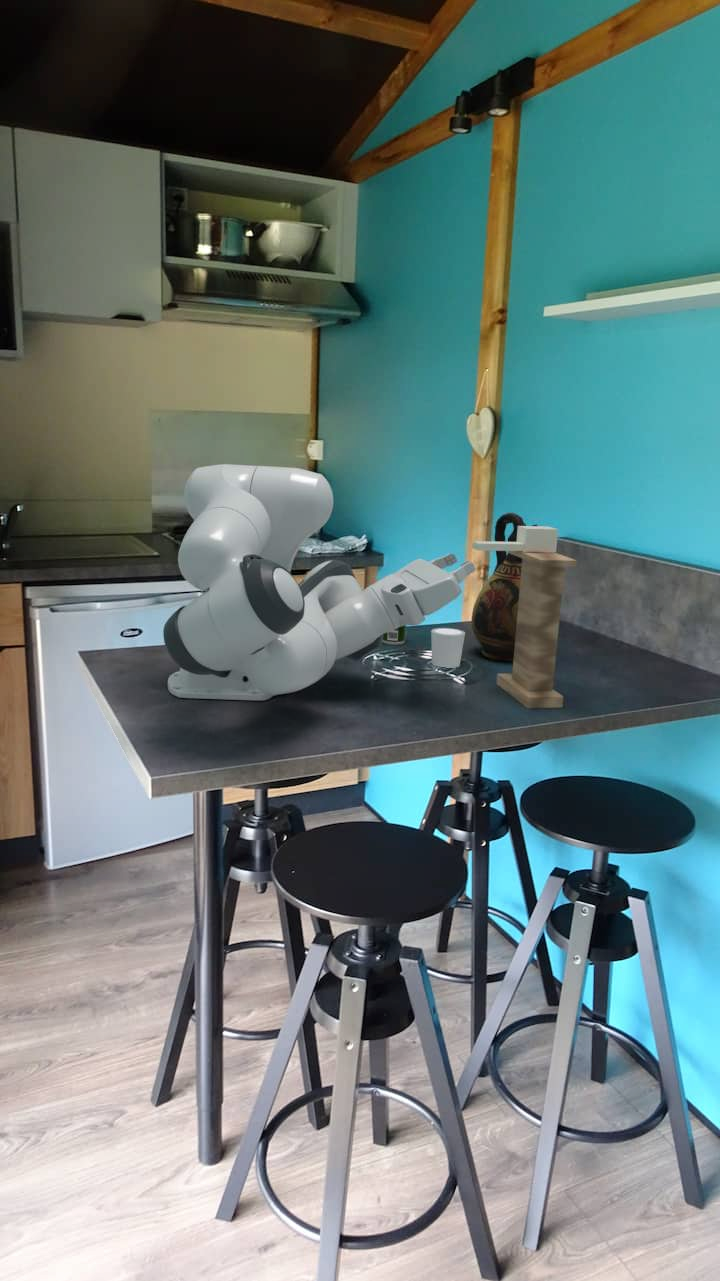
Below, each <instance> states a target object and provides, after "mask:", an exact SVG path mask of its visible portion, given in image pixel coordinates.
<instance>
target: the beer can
mask: <svg viewBox="0 0 720 1281" xmlns="http://www.w3.org/2000/svg"><path fill="white" fill-rule="evenodd" d="M406 636H407V625H405V626H400V627H399V628H397V629H395V630H393V631H391V632H387V633H384V634H383V640H382V644H385V645H391V646H397V645H398V646H400V645H403V644H405V642H406V638H407V637H406Z"/></svg>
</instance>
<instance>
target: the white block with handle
mask: <svg viewBox="0 0 720 1281" xmlns="http://www.w3.org/2000/svg"><path fill="white" fill-rule="evenodd" d="M558 536H559V529H558V528H556V527H555V528H554V527H552V526H542V525H540V526H539V525H537V526H532V525H526V526H518V529H517V541H516V542H507V541H506V542H495V541H488V540H487V541H484V540H481V541H479V540H476V541H475V540H472V544H471V545H472V546H471V548H472V549H474V550H476V551H487V552H488V551H489V552H490V551H491V552H493V551H495V552H496V551H506V552H508V551H527V552H556V553H557V547H558V546H557V545H558Z"/></svg>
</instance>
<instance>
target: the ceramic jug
mask: <svg viewBox="0 0 720 1281" xmlns="http://www.w3.org/2000/svg"><path fill="white" fill-rule="evenodd" d="M508 524H512V526H513V529H512V532H511V533H510V534H509V536H508V537H507V541H506V534H505V533H506V529H507V525H508ZM518 526H527V524H526V522H524V519H523V517H522V516H521V515H518V514H517V513H515V512H506V513H504V514H502V515H501V516H499V517H498V519H497V520H496V522H495V527H494V542H516V541H517V529H518ZM531 526H538V524H532V525H531ZM495 557H496V565H495V568H494V570H493V573H492V574H491V575H490V576H489V578H488V579H487V581H486V582H485V584H484V585H483V587H482V588H481V590H480V591H479V594H478V595H477V598H476V600H475V602H474V604H473V608H472V613H471V629H472V632H473V634H474V636H475V638H476V639H477V642H478V643H479V645H480V646H481V647H482V648H481V653H482V656H484V657H486V658H489V659H491V660H494V661H496V662H499V661H501V662H502V661H503V662H504V661H505V662H508V663H509V662H510V663H511V662H512V663H513V660H514V649H515V638H516V626H517V615H518V603H519V592H520V581H521V569H522V558H520V557H517V556H515V555H512V554H510V553H508V551H495Z"/></svg>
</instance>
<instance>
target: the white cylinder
mask: <svg viewBox="0 0 720 1281" xmlns="http://www.w3.org/2000/svg"><path fill="white" fill-rule="evenodd" d="M430 635H431V636H430V637H431V638H430V639H431V640H430V641H431V665H432V664H433V665H436V666H440V667H446V668H453V669H457V668H456V667H458V668H459V667H460V666H461V661H462V660H461V659H462V653H463V647H464V641H465V636H466V632H465V631H464V630H461V629H458V628H451V627H438V628H437V627H436V628H432V629H431V631H430ZM433 665H432V666H433ZM446 668H445V669H446Z"/></svg>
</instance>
